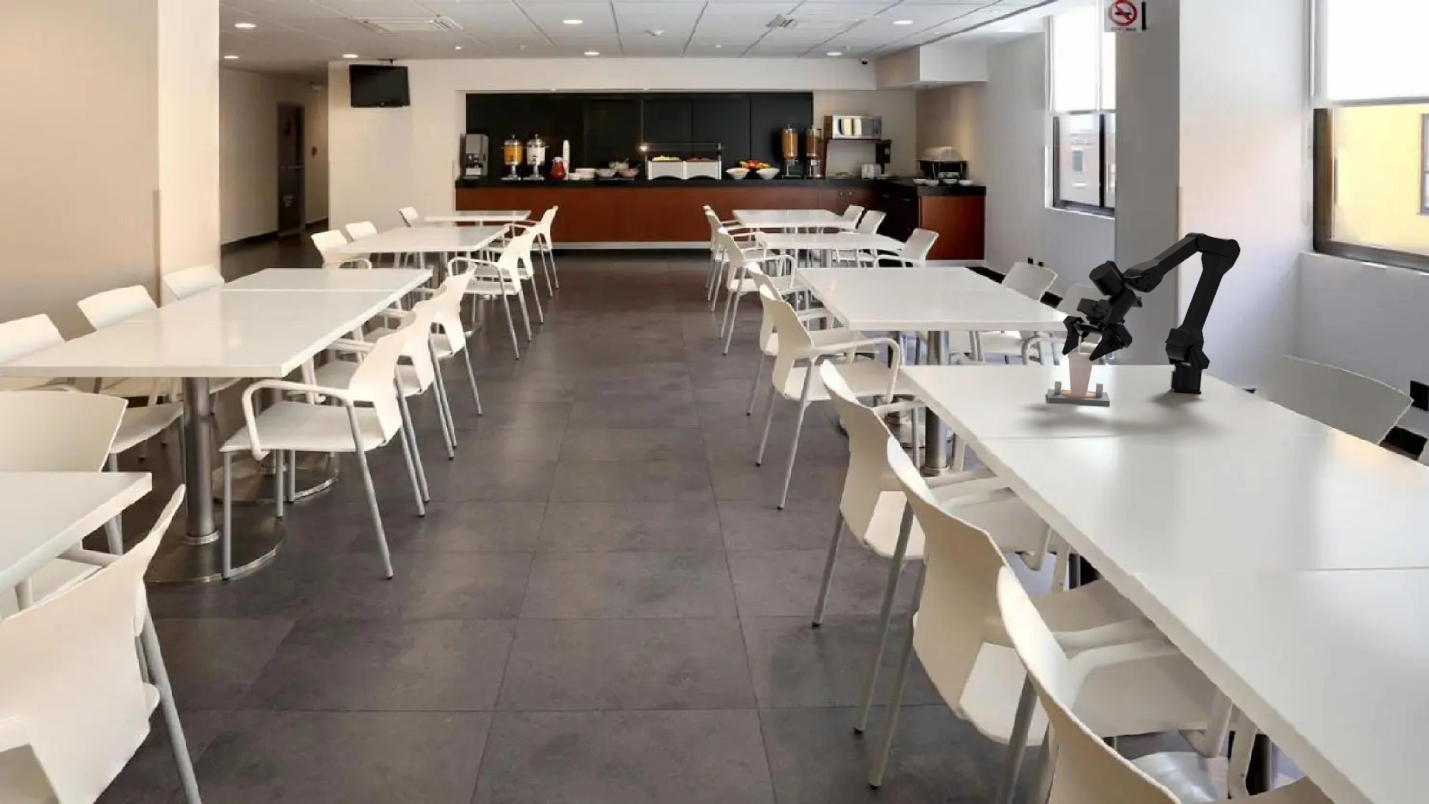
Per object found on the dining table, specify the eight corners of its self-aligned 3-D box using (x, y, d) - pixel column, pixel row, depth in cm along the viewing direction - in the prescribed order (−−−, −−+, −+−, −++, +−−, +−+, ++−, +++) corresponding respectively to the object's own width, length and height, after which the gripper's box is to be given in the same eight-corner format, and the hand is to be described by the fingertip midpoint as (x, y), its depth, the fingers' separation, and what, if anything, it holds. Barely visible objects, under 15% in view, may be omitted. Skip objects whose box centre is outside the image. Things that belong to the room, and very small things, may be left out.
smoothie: (1062, 391, 298) (1065, 334, 295) (1088, 391, 298) (1092, 334, 295) (1068, 396, 292) (1072, 338, 289) (1095, 396, 291) (1099, 338, 289)
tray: (1106, 397, 298) (1107, 380, 298) (1109, 406, 288) (1110, 388, 287) (1047, 393, 302) (1048, 377, 301) (1048, 402, 291) (1049, 385, 290)
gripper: (1071, 282, 299) (1033, 329, 297) (1127, 290, 283) (1087, 340, 280) (1093, 312, 304) (1056, 359, 302) (1149, 322, 288) (1110, 371, 285)
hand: (1076, 356), depth 292 cm, fingers open, 9 cm apart
